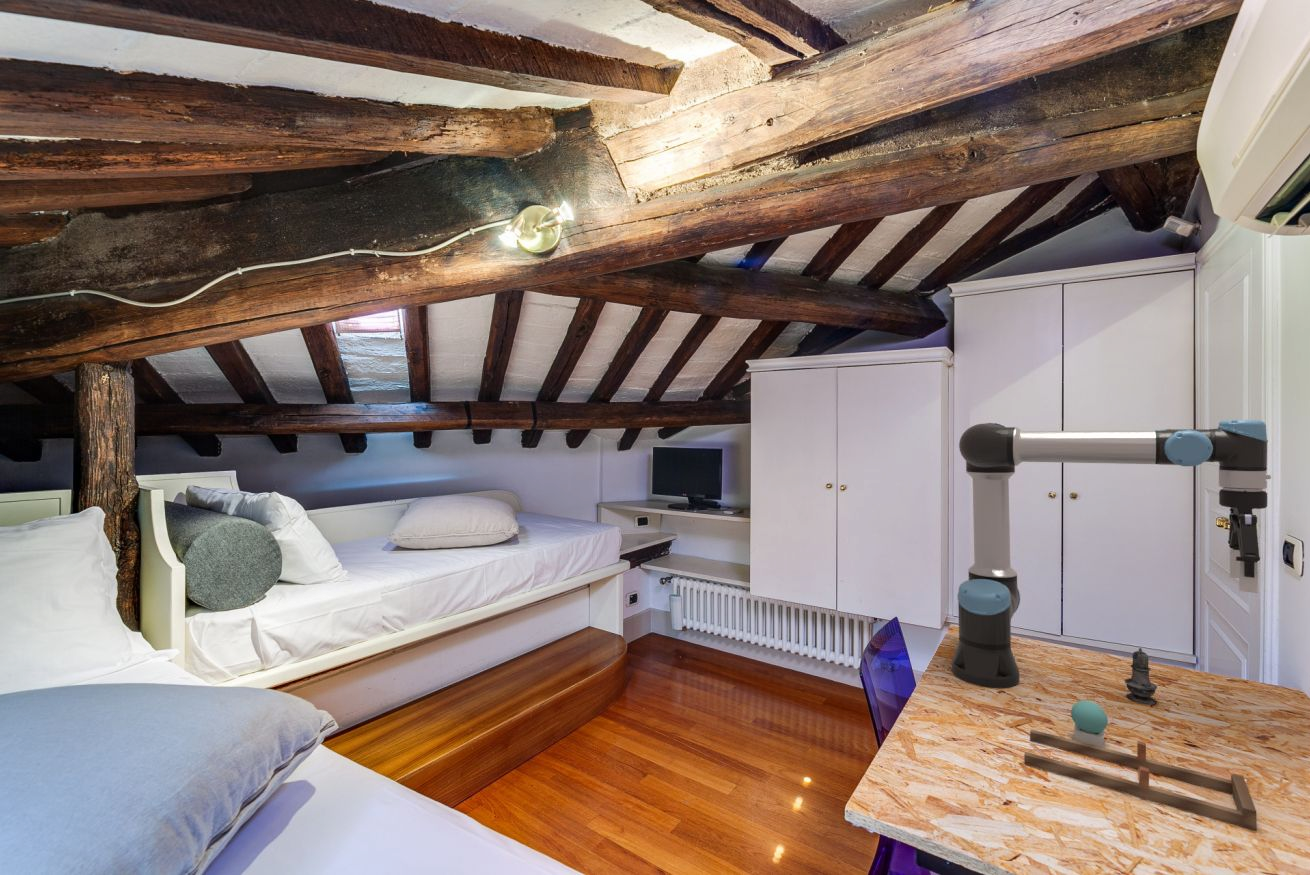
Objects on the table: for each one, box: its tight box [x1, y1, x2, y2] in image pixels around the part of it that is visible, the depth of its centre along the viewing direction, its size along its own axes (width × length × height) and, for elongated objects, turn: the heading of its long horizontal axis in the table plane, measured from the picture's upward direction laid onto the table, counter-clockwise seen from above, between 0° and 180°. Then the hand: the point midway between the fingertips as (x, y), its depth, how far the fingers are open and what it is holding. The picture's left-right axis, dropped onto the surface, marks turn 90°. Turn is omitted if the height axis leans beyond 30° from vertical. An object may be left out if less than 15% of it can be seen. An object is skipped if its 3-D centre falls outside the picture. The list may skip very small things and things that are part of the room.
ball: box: [1070, 700, 1109, 733], centre depth 119 cm, size 6×6×6 cm
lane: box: [1023, 729, 1258, 831], centre depth 106 cm, size 31×11×5 cm, turn 52°
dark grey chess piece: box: [1124, 647, 1158, 705], centre depth 135 cm, size 6×6×12 cm
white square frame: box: [1073, 723, 1105, 748], centre depth 119 cm, size 5×5×2 cm
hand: (1243, 584), depth 129 cm, fingers open, 13 cm apart
